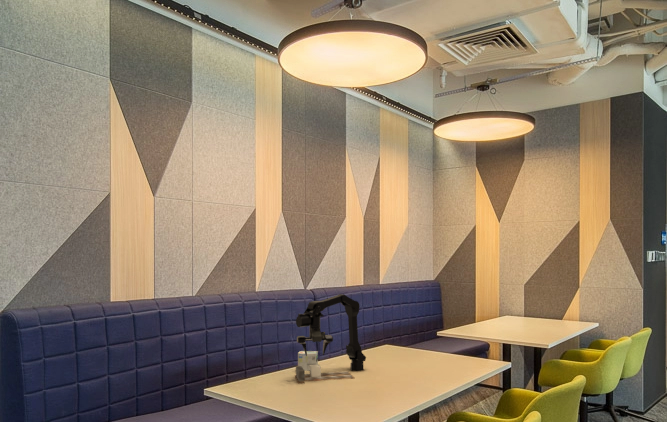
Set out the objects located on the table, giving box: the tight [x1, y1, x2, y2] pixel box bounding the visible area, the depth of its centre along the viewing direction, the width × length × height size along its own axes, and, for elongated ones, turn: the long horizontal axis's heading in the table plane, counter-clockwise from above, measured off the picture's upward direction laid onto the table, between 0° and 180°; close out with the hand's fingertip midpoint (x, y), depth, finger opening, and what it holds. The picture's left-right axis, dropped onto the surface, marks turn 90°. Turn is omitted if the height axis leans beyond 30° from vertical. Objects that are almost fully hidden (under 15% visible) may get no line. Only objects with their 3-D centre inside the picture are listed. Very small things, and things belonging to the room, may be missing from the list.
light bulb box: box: [297, 350, 319, 372], centre depth 292 cm, size 11×7×11 cm, turn 84°
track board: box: [294, 365, 355, 385], centre depth 275 cm, size 30×14×6 cm, turn 101°
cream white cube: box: [309, 363, 322, 377], centre depth 274 cm, size 5×6×6 cm
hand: (314, 355), depth 274 cm, fingers open, 9 cm apart
